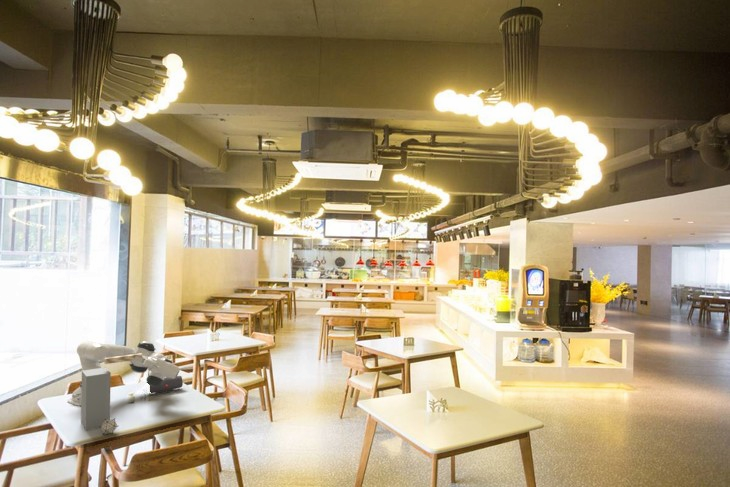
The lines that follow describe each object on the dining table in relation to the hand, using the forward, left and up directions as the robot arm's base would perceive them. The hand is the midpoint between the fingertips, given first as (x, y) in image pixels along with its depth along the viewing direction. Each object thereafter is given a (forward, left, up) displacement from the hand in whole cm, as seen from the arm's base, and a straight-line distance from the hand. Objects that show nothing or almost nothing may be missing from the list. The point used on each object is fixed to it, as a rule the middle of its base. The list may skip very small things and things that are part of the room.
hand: (134, 356), depth 276 cm
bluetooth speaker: (-18, +44, -36) cm, 60 cm away
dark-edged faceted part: (+10, -25, -36) cm, 45 cm away
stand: (-10, -17, -36) cm, 41 cm away
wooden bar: (-3, -5, -2) cm, 6 cm away
